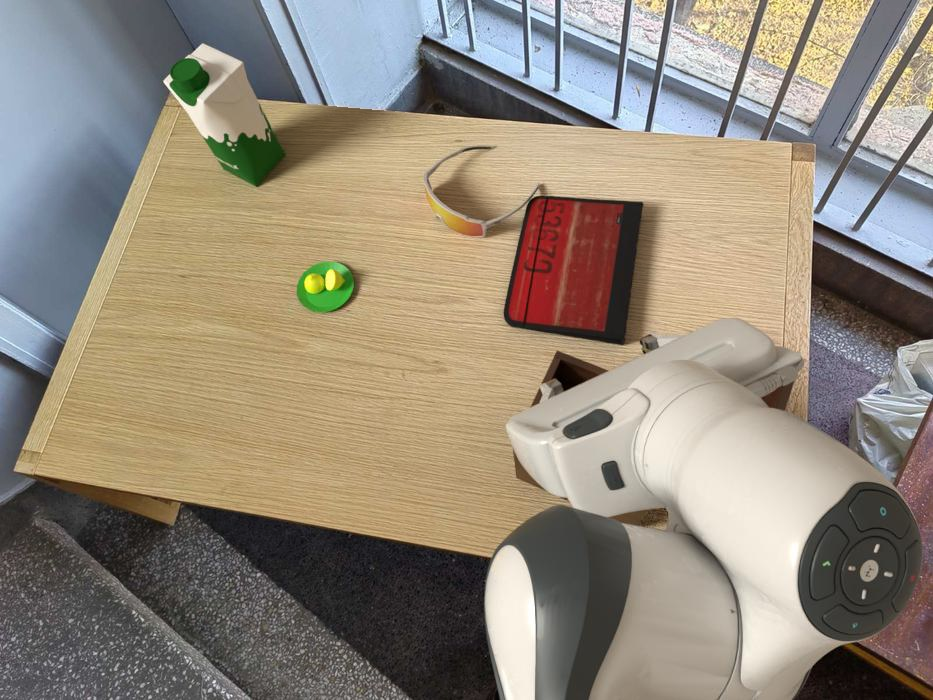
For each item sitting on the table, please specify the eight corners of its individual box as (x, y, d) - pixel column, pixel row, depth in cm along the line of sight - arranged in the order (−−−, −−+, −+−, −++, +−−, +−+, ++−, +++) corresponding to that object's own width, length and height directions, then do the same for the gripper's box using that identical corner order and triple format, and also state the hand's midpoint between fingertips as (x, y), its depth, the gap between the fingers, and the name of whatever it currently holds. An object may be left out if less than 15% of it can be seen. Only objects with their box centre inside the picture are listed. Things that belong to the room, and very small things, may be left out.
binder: (644, 200, 92) (626, 339, 84) (642, 210, 94) (624, 346, 86) (527, 190, 96) (499, 323, 88) (528, 200, 98) (501, 330, 90)
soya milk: (215, 171, 105) (148, 69, 87) (253, 131, 108) (195, 24, 90) (257, 194, 102) (196, 94, 84) (295, 152, 105) (244, 46, 87)
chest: (516, 477, 81) (512, 446, 69) (554, 394, 85) (556, 350, 73) (634, 530, 77) (651, 506, 65) (668, 440, 81) (691, 402, 69)
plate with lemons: (346, 256, 96) (341, 245, 94) (361, 303, 93) (356, 292, 90) (292, 274, 96) (286, 264, 93) (305, 322, 92) (298, 312, 90)
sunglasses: (406, 199, 99) (404, 174, 95) (482, 150, 104) (483, 124, 100) (472, 257, 94) (472, 234, 90) (548, 203, 99) (552, 178, 95)
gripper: (811, 323, 45) (697, 283, 58) (531, 456, 43) (478, 383, 56) (827, 404, 47) (714, 347, 60) (562, 533, 45) (504, 446, 58)
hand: (599, 365), depth 58 cm, fingers open, 8 cm apart
